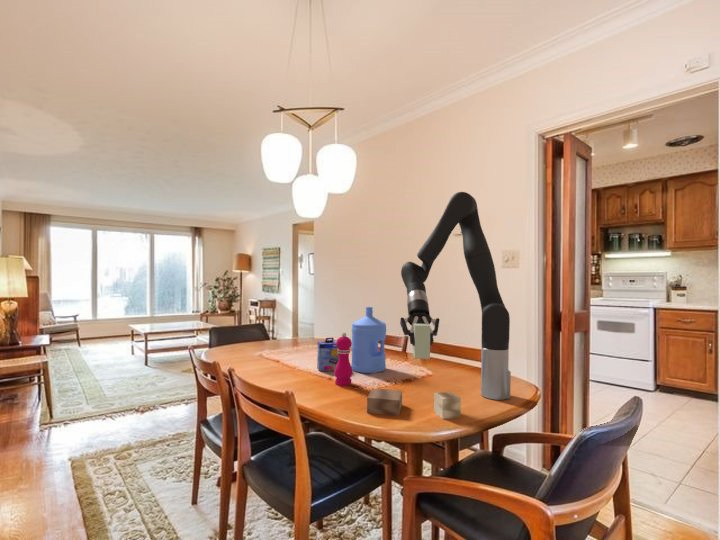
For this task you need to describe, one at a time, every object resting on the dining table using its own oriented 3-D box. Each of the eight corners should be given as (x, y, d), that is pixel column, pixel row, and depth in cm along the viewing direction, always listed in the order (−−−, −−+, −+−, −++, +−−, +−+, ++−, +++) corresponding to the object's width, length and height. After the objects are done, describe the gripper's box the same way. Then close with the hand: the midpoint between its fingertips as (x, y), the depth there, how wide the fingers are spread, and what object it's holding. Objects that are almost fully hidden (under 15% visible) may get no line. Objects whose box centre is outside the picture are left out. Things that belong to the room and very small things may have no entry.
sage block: (427, 355, 131) (427, 323, 131) (429, 359, 126) (430, 325, 126) (412, 355, 131) (413, 323, 131) (414, 358, 126) (415, 325, 126)
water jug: (346, 371, 168) (347, 308, 168) (357, 364, 183) (358, 305, 183) (380, 375, 163) (381, 309, 163) (389, 367, 178) (390, 306, 178)
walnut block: (401, 405, 127) (402, 390, 127) (399, 416, 117) (399, 400, 117) (372, 403, 129) (372, 388, 129) (366, 413, 119) (367, 397, 119)
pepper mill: (336, 386, 146) (337, 334, 146) (332, 381, 153) (333, 331, 153) (354, 385, 148) (355, 333, 148) (350, 380, 155) (350, 331, 155)
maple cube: (451, 410, 122) (451, 391, 122) (460, 417, 116) (460, 397, 116) (433, 412, 121) (434, 393, 121) (442, 419, 115) (442, 399, 115)
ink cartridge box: (318, 371, 168) (319, 338, 168) (316, 368, 173) (316, 336, 174) (340, 370, 171) (341, 337, 171) (337, 367, 176) (338, 335, 177)
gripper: (398, 298, 136) (401, 337, 124) (439, 298, 136) (445, 338, 124) (397, 311, 142) (399, 350, 130) (436, 312, 141) (442, 351, 129)
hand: (422, 344), depth 127 cm, fingers closed on sage block, 5 cm apart
